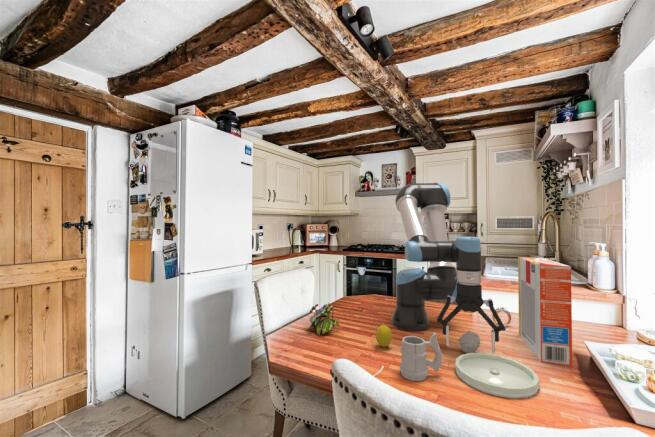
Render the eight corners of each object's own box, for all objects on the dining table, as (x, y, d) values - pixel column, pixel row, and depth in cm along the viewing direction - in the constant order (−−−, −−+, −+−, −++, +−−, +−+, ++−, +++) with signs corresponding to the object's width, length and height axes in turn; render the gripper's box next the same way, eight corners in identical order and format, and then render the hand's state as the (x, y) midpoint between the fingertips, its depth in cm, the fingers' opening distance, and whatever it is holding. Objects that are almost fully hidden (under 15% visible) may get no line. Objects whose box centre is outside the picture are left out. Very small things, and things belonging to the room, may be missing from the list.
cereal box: (572, 365, 89) (571, 266, 90) (540, 361, 92) (539, 265, 92) (543, 337, 111) (542, 257, 111) (518, 335, 113) (518, 257, 114)
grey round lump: (485, 355, 96) (484, 334, 96) (467, 358, 94) (467, 336, 94) (471, 348, 102) (470, 327, 102) (454, 350, 100) (454, 330, 100)
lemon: (382, 352, 99) (382, 328, 99) (372, 346, 104) (372, 323, 104) (395, 348, 101) (395, 325, 101) (385, 343, 106) (385, 320, 106)
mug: (397, 367, 88) (397, 327, 88) (437, 368, 88) (437, 328, 88) (402, 381, 81) (402, 337, 81) (446, 382, 80) (446, 338, 80)
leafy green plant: (314, 343, 121) (313, 311, 129) (343, 339, 119) (340, 306, 128) (305, 335, 111) (305, 300, 119) (337, 330, 109) (334, 296, 118)
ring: (509, 325, 123) (509, 306, 124) (512, 328, 120) (512, 308, 120) (491, 324, 125) (491, 305, 125) (493, 327, 122) (493, 307, 122)
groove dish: (455, 387, 78) (455, 378, 78) (456, 355, 96) (456, 348, 96) (547, 406, 69) (547, 396, 70) (529, 368, 88) (529, 360, 88)
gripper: (428, 282, 100) (429, 345, 99) (514, 288, 90) (516, 359, 89) (430, 278, 107) (431, 338, 106) (510, 284, 97) (512, 349, 96)
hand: (469, 347), depth 98 cm, fingers open, 13 cm apart
